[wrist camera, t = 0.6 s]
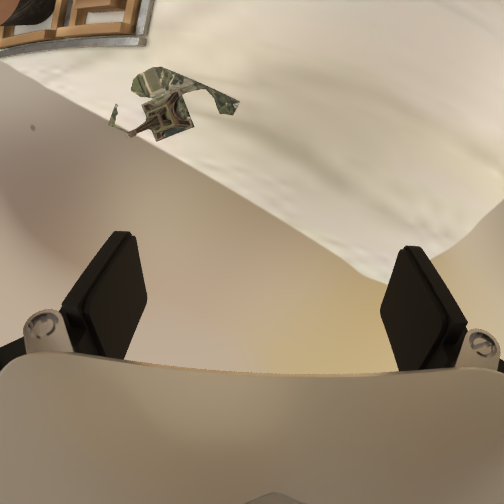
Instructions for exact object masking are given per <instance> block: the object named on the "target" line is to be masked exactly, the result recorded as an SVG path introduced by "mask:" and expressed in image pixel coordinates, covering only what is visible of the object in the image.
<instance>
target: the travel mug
mask: <svg viewBox="0 0 504 504" xmlns="http://www.w3.org/2000/svg"><path fill="white" fill-rule="evenodd" d="M55 4H56V0H0V26H15V25H35V24H39V23H41V22H43V21H45V20H46V19H47V18H48V17H49V16H50V15H51V14H52V12H53V11H54V9H55Z"/></svg>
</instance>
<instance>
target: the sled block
mask: <svg viewBox="0 0 504 504" xmlns="http://www.w3.org/2000/svg"><path fill="white" fill-rule="evenodd" d="M75 1H76V0H73V5H72V10H71V15H70V20H69V26H68V27H60V28H57V33H56V37H74V38H78V37H91V36H111V35H136V34H135V33H136V28H137V22H138V17H139V12H140V8H141V3H142V0H127V4H126V9H125V14H124V19H123V23H122V22H114V23H98V24H86V25H85V21H86V15H87V11H82V10H77V9H74V6H75Z"/></svg>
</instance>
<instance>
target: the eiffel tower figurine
mask: <svg viewBox="0 0 504 504" xmlns="http://www.w3.org/2000/svg"><path fill="white" fill-rule="evenodd" d="M199 89H206V90H207V91H208V92H209V93H210V94H211V95H212V96H213V97H214V99H215V102H216V105H217V108H218V111H219V113H220V114H228V115H233V114H234V112H235V110H236V108H237V106H238V105H239V103H240V102H239V101H237V100H235V99H233V98H231V97H229V96H227V95H225V94H223V93H221V92H219V91H217V90H214V89H212V88H210V87H208V86H206V85H203V84H201V83H199V82H196V81H194V80H192V79H189V78H187V77H184V76H182V75H180V74H177V73H175V72H172V71H170V70H168V69H165V68H163V67H153V68H151V69H149V70H147V71H145V72H143V73H141V74H138V75H137V76H136V77H135V79H134V80H133V83H132V87H131V92H133V93H136V94H137V95H139V96H140V97H148V98H153V100H151V101H149V102H146V103H144V104H142V107H143V110H144V112H145V115H146V117H147V118H146V121H145V122H144V123H143V124H142V125H140V126H139V127H138V128H136V129H135V130H132V131H130V132H129V131H127V130H125V129H124V128H122V127H120V126H118V125H116V124H114V123H115V120H116V115H117V114H118V112H117V107H116V106H118V105H117V104H115V107H114V110H113V113H112V115H111V118H110V121H109V125H110V126H112V127H115V128H117V129H119V130H122V131H124V132H127V133H128V134H129V135H128V136H130V137H133V136H135V137H138V136H136V135H137V133H139V132H142V131H144V130H147V129H150V130H152V132H153V134H154V137H155V139H156V142H157V141H159V140H162V139H164V138H167V137H169V136H172V135H174V134H177V133H179V132H182V131H185V130H187V129H190V128H193V127H194V125H193V122H192V120H191V117H190V115H189V112H188V109H187V107H186V104H185V102H184V99H183V97H182V95H183V94H184V93H187V92H190V91H194V90H199ZM128 136H127V137H128ZM138 138H140V137H138ZM140 139H142V138H140ZM142 140H144V139H142Z"/></svg>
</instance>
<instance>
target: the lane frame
mask: <svg viewBox="0 0 504 504" xmlns="http://www.w3.org/2000/svg"><path fill="white" fill-rule="evenodd" d="M153 4H154V0H142V3H141V8H140V12H139V17H138V22H137V28H136V33H135V34H137V35H147V34H148V29H149V23H150V18H151V13H152V9H153ZM72 5H73V0H69V2H68V7H67V12H66V17H65V23H64V27H68V26H69V20H70V15H71V10H72ZM62 38H74V37H62ZM146 40H147V39H145V38H140V37H122V38H95V39H80V40H69V41H60V42H52V43H44V44H38V45H31V46H25V47H20V48H15V49H10V50H5V51H0V58H4V57H9V56H15V55H21V54H27V53H34V52H41V51H49V50H58V49H68V48H81V47H100V46H145V45H146ZM3 49H5V48H3Z"/></svg>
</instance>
